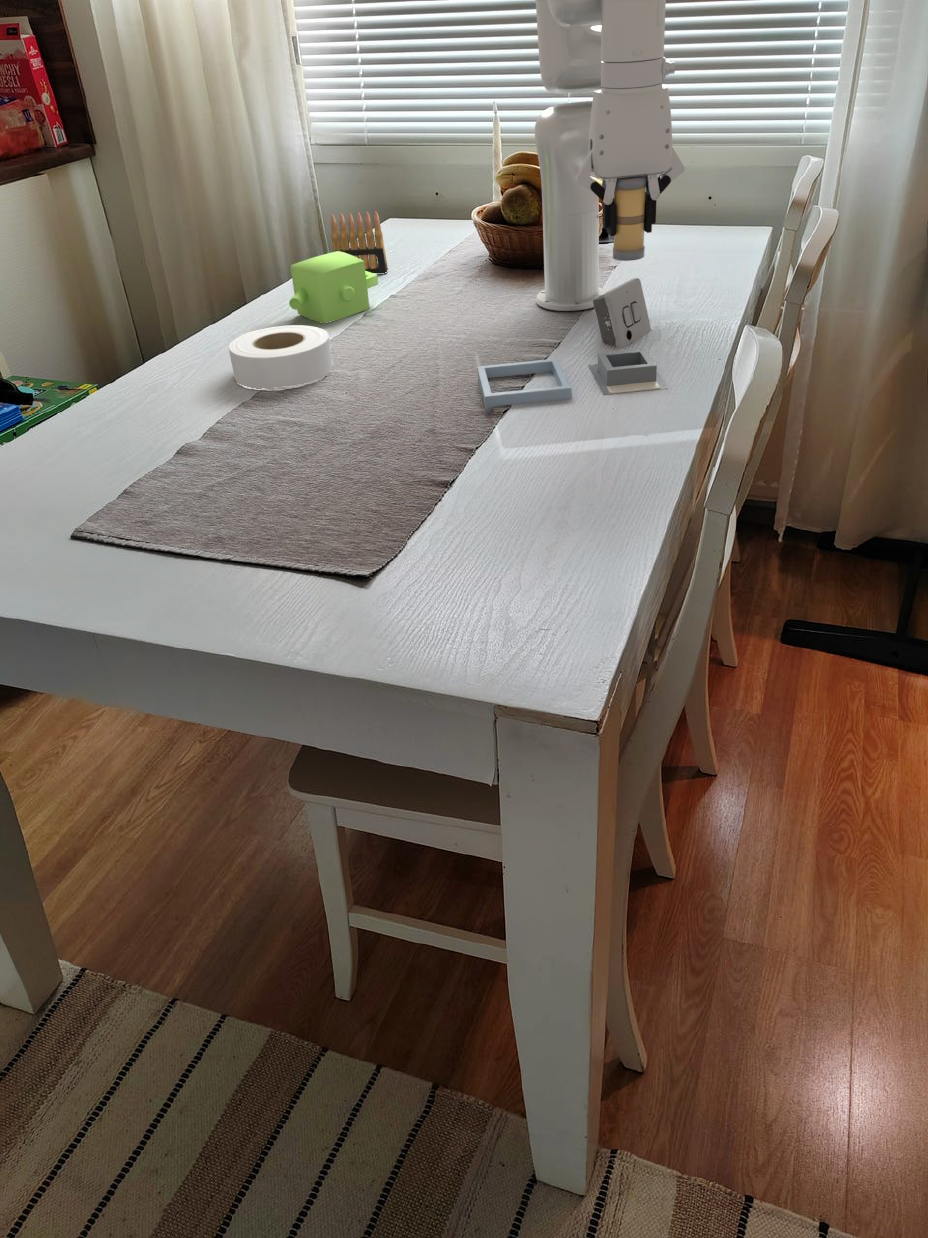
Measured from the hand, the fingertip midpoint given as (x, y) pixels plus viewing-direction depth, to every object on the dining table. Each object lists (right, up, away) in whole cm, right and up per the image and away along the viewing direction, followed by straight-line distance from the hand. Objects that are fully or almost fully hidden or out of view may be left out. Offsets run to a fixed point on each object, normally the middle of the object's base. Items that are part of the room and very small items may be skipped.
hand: (628, 230), depth 131 cm
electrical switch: (+3, -8, +26) cm, 27 cm away
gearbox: (-46, +4, +50) cm, 68 cm away
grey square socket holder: (+2, -17, +12) cm, 21 cm away
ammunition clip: (-43, +19, +71) cm, 85 cm away
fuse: (0, -3, +2) cm, 3 cm away
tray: (-13, -19, +11) cm, 26 cm away
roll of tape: (-51, -13, +26) cm, 58 cm away
